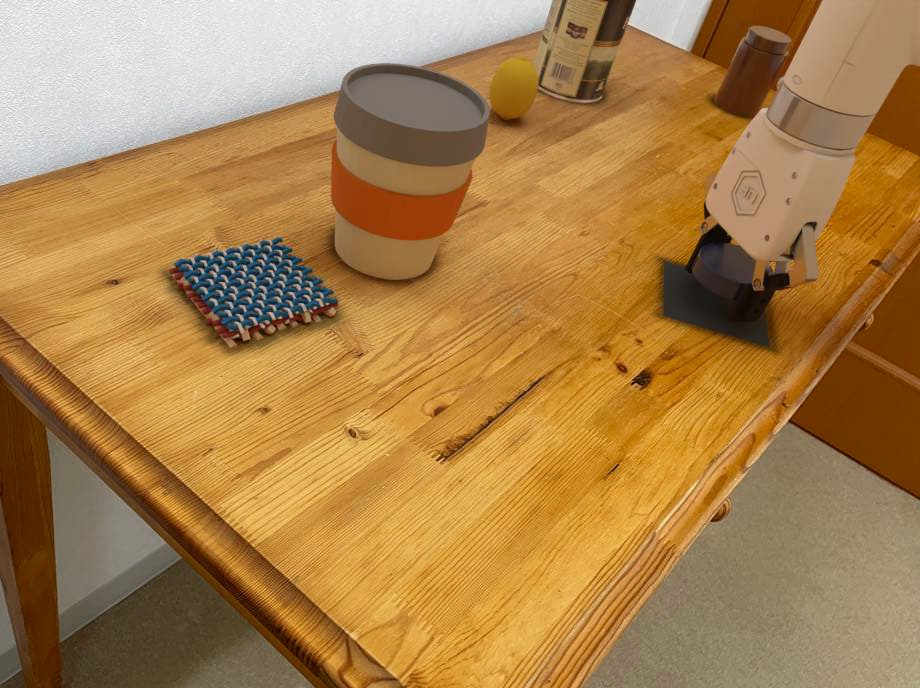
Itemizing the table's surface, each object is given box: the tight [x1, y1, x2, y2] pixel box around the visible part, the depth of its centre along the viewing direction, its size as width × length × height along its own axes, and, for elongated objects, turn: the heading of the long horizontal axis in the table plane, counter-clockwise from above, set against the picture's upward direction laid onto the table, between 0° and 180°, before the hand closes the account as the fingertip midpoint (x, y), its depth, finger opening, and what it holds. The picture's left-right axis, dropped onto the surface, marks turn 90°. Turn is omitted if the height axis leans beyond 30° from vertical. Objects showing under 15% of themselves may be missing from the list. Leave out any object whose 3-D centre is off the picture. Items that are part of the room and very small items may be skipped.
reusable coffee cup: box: [330, 62, 491, 281], centre depth 72 cm, size 13×13×15 cm
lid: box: [691, 242, 775, 300], centre depth 78 cm, size 7×7×2 cm
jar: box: [713, 25, 792, 119], centre depth 117 cm, size 6×6×11 cm
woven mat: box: [169, 236, 339, 349], centre depth 69 cm, size 10×11×2 cm
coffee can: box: [533, 0, 637, 104], centre depth 110 cm, size 10×10×14 cm
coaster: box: [662, 260, 771, 349], centre depth 81 cm, size 10×10×1 cm
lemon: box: [489, 55, 539, 121], centre depth 101 cm, size 6×6×8 cm
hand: (720, 293), depth 80 cm, fingers closed on lid, 6 cm apart
